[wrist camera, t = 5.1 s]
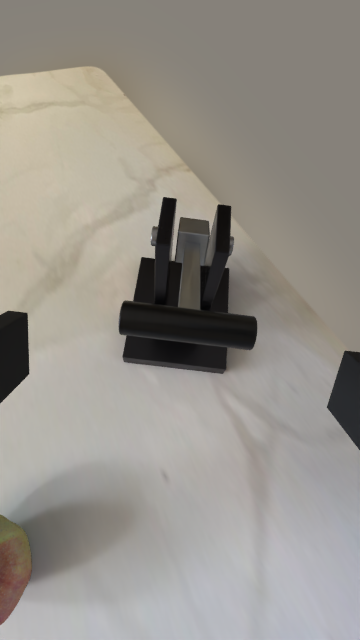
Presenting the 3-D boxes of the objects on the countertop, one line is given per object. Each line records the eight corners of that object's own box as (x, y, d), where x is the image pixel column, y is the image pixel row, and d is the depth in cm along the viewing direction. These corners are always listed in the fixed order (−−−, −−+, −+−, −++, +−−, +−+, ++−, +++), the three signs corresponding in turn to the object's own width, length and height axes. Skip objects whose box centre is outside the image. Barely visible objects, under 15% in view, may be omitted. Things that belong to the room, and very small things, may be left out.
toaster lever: (248, 362, 16) (261, 325, 14) (118, 346, 15) (118, 307, 14) (230, 253, 25) (237, 224, 24) (150, 242, 25) (151, 212, 24)
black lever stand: (223, 374, 31) (268, 307, 19) (123, 362, 31) (105, 287, 19) (226, 275, 37) (263, 174, 25) (141, 264, 37) (136, 157, 24)
